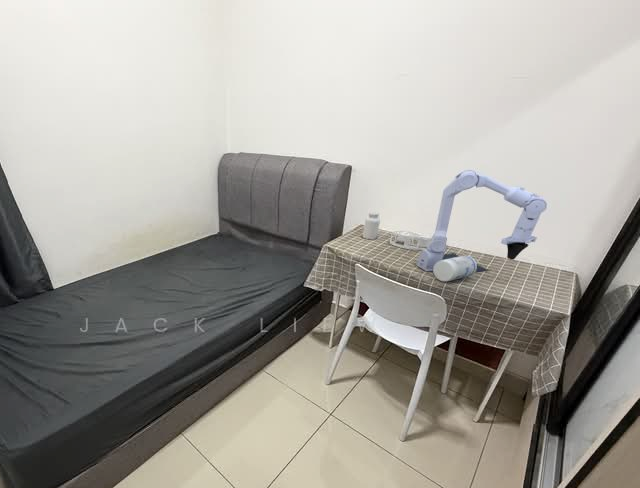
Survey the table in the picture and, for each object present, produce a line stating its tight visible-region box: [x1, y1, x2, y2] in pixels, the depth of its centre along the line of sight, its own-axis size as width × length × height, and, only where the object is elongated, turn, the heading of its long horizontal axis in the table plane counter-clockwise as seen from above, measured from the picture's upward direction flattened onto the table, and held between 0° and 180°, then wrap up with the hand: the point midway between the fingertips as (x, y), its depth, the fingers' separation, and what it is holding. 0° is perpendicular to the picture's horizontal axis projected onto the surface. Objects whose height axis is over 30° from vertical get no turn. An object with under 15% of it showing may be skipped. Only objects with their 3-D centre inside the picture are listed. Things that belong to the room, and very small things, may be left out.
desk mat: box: [442, 253, 488, 273], centre depth 148 cm, size 16×20×1 cm
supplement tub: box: [432, 254, 478, 282], centre depth 132 cm, size 10×10×15 cm
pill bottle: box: [362, 211, 381, 240], centre depth 178 cm, size 8×8×15 cm
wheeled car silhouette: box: [389, 229, 433, 251], centre depth 167 cm, size 20×11×7 cm, turn 41°
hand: (510, 258), depth 127 cm, fingers closed
